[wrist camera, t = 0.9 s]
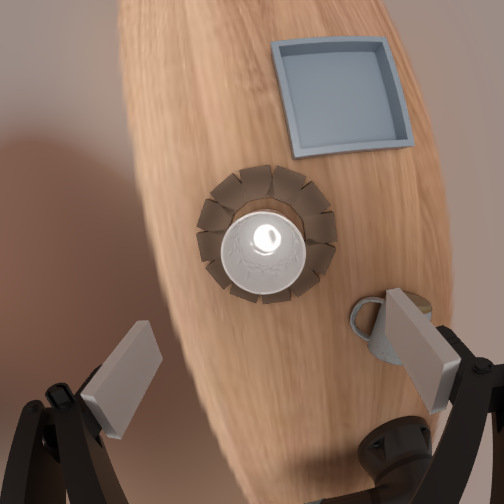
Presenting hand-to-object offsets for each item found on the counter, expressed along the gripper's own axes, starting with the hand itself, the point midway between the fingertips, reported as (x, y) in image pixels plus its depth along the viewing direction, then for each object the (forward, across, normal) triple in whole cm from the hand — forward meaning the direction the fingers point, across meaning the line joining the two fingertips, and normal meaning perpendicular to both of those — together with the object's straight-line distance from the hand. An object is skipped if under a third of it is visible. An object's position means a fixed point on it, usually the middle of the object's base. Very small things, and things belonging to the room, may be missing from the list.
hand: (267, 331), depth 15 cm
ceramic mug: (+22, -14, +14) cm, 30 cm away
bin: (+24, -11, -16) cm, 31 cm away
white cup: (+23, 0, 0) cm, 23 cm away
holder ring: (+23, 0, 0) cm, 23 cm away
